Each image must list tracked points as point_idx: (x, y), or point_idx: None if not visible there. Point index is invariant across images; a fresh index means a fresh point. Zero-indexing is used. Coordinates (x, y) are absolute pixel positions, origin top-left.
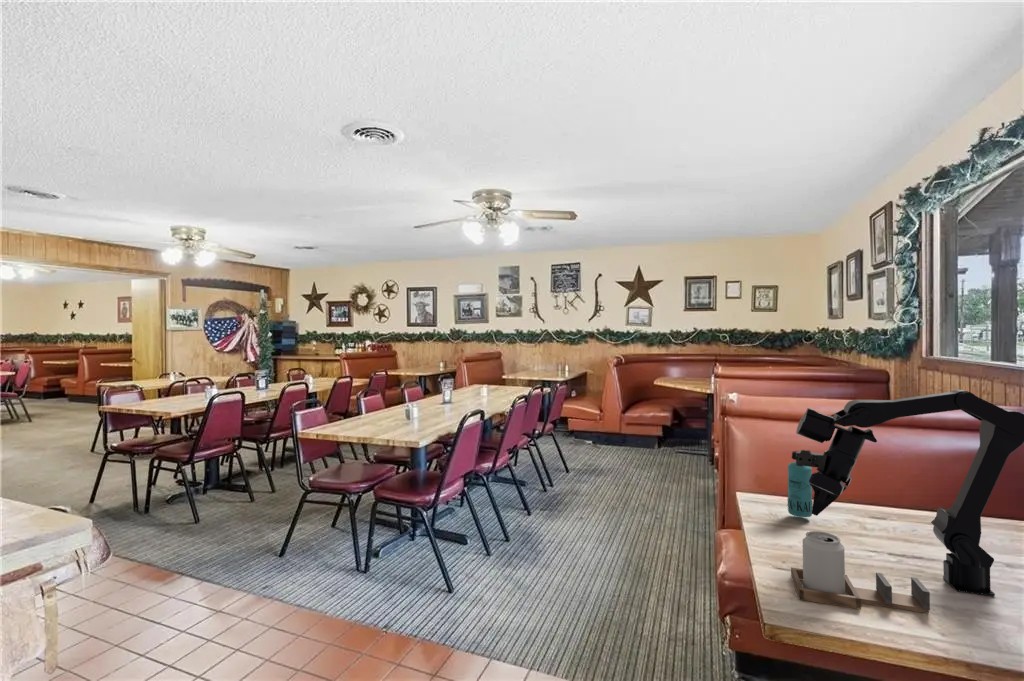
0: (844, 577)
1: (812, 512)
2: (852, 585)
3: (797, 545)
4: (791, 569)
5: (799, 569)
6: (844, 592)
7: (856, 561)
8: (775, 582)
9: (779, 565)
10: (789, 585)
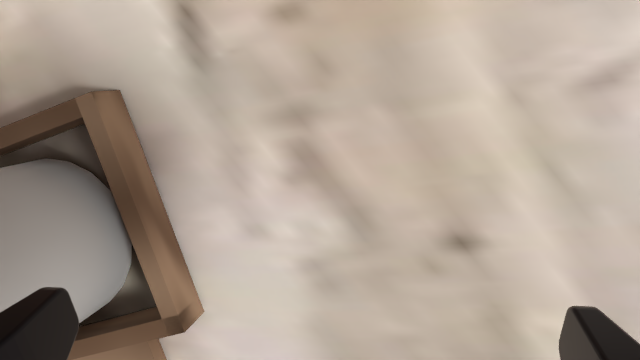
0: None
1: (35, 298)
2: (90, 353)
3: (635, 21)
4: (80, 96)
5: (93, 133)
6: None
7: (554, 348)
8: (23, 41)
9: (223, 6)
10: (38, 101)
